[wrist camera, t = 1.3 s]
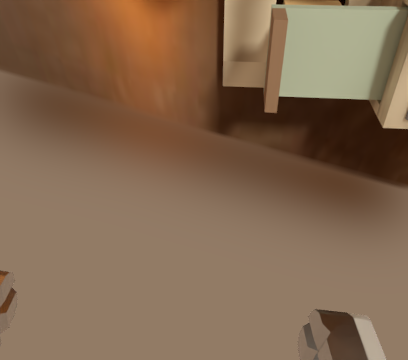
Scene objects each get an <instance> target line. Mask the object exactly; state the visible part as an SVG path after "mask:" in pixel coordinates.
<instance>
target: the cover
mask: <svg viewBox="0 0 408 360" xmlns="http://www.w3.org/2000/svg"><path fill="white" fill-rule="evenodd" d="M407 16H408V7H392V6H334V5H276V4H272V7H271V18H270V28H269V39H268V49H267V59H266V70H265V80H264V111H265V112H268V113H277V106H278V98H279V96H283V97H310V98H338V99H365V100H382V96H383V93H384V90H385V87H386V83H387V80H388V77H389V74H390V71H391V67H392V64H393V61H394V58H395V54H396V51H397V48H398V45H399V42H400V38H401V35H402V32H403V29H404V25H405V22H406V19H407Z"/></svg>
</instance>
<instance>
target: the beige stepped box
mask: <svg viewBox="0 0 408 360" xmlns="http://www.w3.org/2000/svg"><path fill="white" fill-rule="evenodd" d="M276 1H277V0H225V9H224V52H223V86H232V87H261V88H264V80H265V70H266V59H267V49H268V39H269V28H270V18H271V7H272V4H276ZM344 6H392V7H408V0H345V5H344ZM369 101H370V103H371V105H372V107H373V109H374V111H375V113H376V115H377V117H378V119H379V121H380V123H381V125H382V127H383V128H397V129H408V16H407V19H406V22H405V25H404V29H403V32H402V35H401V38H400V42H399V45H398V48H397V51H396V54H395V58H394V61H393V64H392V67H391V71H390V74H389V77H388V80H387V83H386V87H385V90H384V93H383V96H382V100H369Z"/></svg>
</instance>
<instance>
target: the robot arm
mask: <svg viewBox="0 0 408 360" xmlns="http://www.w3.org/2000/svg"><path fill="white" fill-rule="evenodd" d="M14 281H15V280H14V274H13V273H12V272H6V271H0V334H1V333H2V332H3V331H5V330H6V329H7V328H9V326H10V323H11V321H12V319H13V317H14V313H15V310H16V306H17V292H16V291H15V290H14V289H13V288H12V285H13V283H14ZM308 317H309V322H310V323H308V324H306V325H304V326H303V327H302V329H301V331H300V333H299V339H298V351H299V356H300V360H386V357H385V355H384V352H383V350H382V348H381V345H380V343H379V340H378V338H377V335H376V333H375V330H374V328H373V325H372V323H371V321H370V319H369V318H368V317H367V316H365V315H358V314H348V313H345V312H336V311H327V310H317V309H315V310H313V311H312V312H311V313H310V315H309V316H308ZM0 345H1V340H0Z"/></svg>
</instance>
